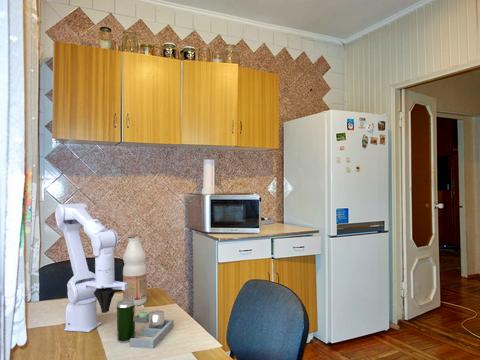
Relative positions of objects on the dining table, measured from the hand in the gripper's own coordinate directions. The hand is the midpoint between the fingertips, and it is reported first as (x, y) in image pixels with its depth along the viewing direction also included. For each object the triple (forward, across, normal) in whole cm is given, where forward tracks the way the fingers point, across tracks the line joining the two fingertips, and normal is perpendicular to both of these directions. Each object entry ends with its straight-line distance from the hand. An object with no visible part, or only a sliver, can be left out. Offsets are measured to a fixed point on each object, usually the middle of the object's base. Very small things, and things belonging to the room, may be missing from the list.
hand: (105, 311), depth 117 cm
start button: (+9, +5, +16) cm, 19 cm away
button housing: (+8, +5, +16) cm, 19 cm away
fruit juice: (+9, -7, +34) cm, 36 cm away
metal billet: (+9, +14, +8) cm, 18 cm away
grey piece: (+8, +14, +4) cm, 17 cm away
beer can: (+9, +7, 0) cm, 11 cm away
